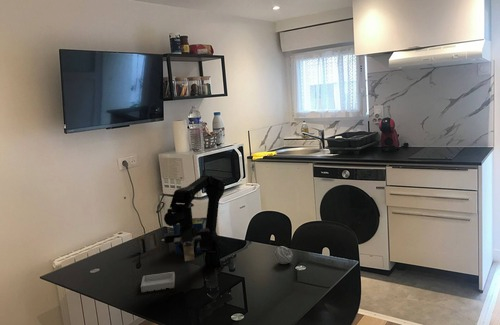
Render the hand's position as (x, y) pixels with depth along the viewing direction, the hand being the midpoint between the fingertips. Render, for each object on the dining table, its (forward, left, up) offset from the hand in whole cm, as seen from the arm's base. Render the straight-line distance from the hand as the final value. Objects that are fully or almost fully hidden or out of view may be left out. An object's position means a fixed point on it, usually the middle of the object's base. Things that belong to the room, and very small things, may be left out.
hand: (189, 255), depth 179 cm
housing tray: (+14, 0, -11) cm, 18 cm away
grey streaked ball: (-41, -4, -11) cm, 43 cm away
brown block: (0, 0, -1) cm, 1 cm away
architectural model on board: (+22, -49, -12) cm, 55 cm away
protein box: (-1, -39, -11) cm, 41 cm away
